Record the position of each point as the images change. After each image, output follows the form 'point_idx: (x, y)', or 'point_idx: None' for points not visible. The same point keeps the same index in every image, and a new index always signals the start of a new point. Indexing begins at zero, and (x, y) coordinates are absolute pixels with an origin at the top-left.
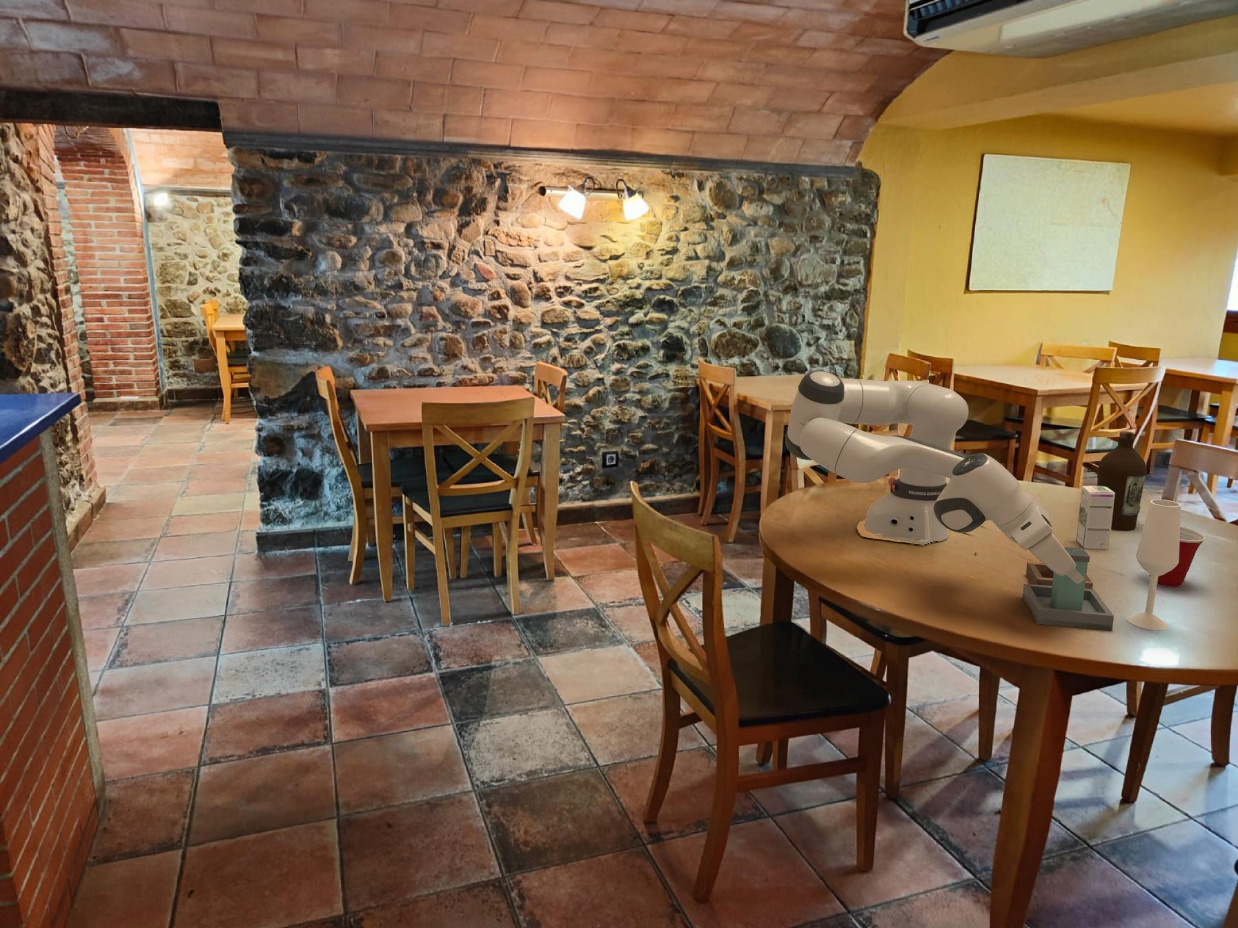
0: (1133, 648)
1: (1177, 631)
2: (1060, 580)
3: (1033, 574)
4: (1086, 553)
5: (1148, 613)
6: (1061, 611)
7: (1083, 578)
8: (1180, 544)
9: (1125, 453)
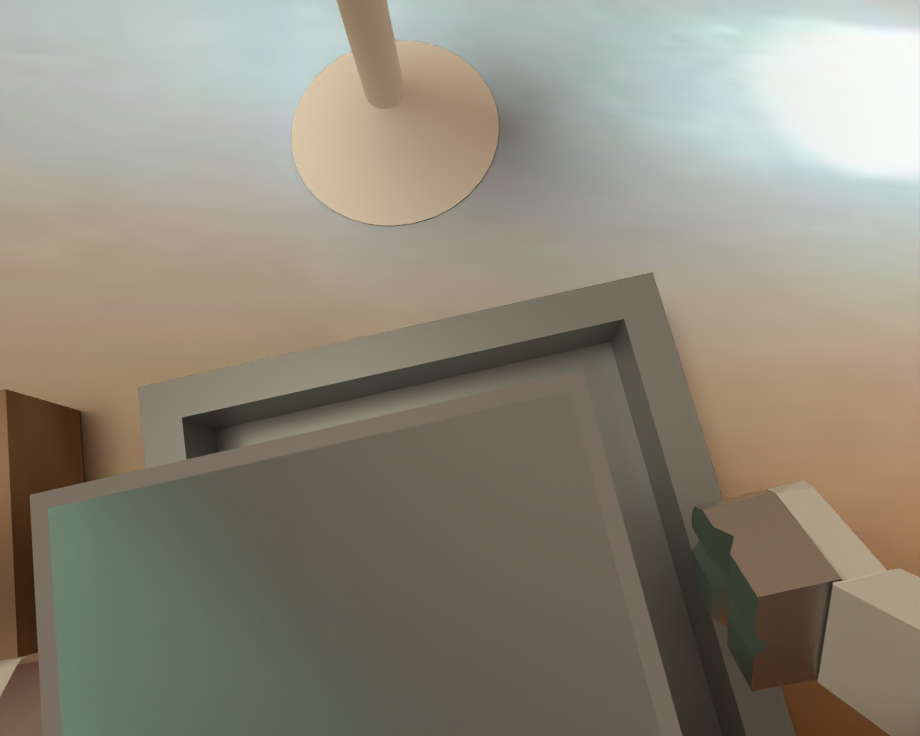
0: (845, 214)
1: (463, 7)
2: None
3: None
4: (391, 432)
5: (405, 90)
6: None
7: (813, 490)
8: None
9: None
